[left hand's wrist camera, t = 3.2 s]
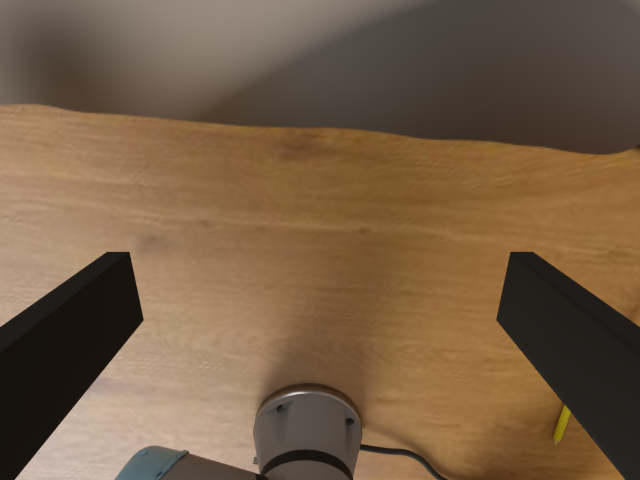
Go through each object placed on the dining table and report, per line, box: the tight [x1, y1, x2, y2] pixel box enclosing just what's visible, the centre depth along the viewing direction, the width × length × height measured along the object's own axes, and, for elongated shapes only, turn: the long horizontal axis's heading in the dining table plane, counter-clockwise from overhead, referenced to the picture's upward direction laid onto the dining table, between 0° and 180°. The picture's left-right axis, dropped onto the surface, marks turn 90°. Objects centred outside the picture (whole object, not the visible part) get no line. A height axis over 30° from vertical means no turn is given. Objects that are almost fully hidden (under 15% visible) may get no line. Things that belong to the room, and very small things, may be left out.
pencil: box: [553, 404, 571, 445], centre depth 50 cm, size 16×1×1 cm, turn 178°
